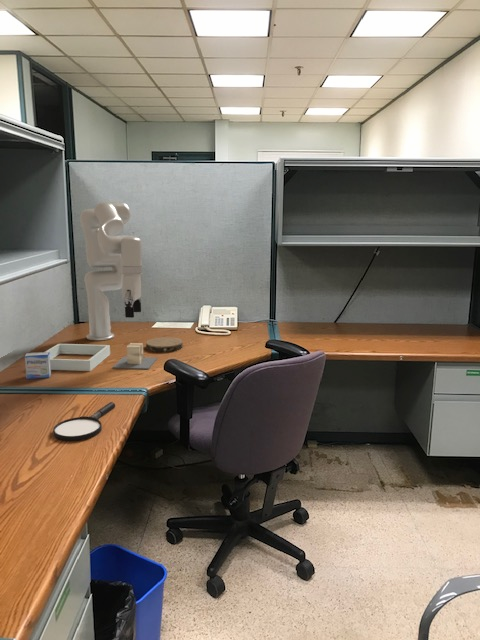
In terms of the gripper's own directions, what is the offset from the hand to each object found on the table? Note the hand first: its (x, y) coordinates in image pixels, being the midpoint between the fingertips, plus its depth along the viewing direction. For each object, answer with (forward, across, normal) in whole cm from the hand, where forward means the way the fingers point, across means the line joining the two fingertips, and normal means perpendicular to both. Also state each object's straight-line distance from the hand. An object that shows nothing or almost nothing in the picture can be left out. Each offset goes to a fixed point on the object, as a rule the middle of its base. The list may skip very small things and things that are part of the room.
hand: (133, 314), depth 189 cm
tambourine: (+20, -24, +6) cm, 32 cm away
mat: (+20, 0, 0) cm, 20 cm away
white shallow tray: (+20, 0, -25) cm, 32 cm away
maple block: (+19, 0, 0) cm, 19 cm away
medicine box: (+20, +19, -30) cm, 41 cm away
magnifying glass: (+20, +56, +3) cm, 59 cm away
